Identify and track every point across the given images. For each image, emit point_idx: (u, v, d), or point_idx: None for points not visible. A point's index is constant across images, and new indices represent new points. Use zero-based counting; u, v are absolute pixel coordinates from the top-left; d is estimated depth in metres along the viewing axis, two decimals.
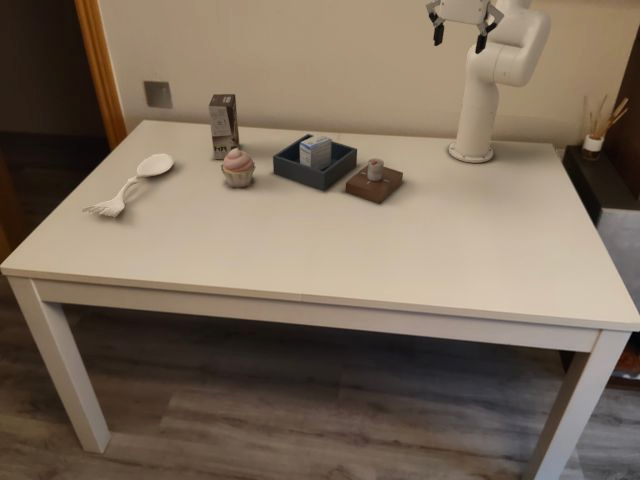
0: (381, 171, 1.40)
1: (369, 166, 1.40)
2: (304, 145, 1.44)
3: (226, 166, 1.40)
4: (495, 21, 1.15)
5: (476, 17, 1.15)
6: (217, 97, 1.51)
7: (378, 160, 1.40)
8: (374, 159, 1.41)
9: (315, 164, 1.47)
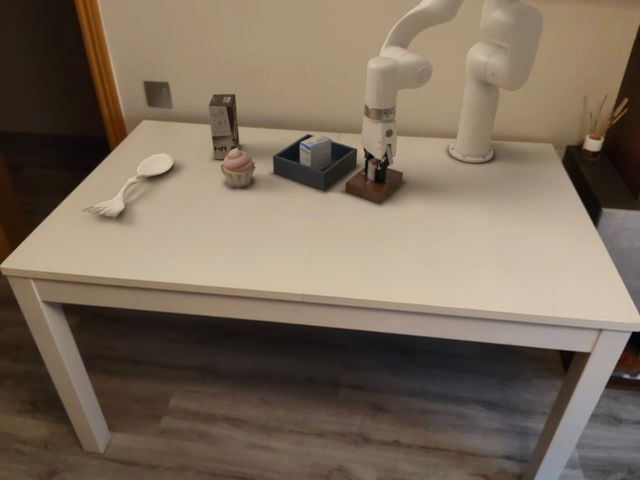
0: None
1: (369, 166, 1.40)
2: (304, 145, 1.44)
3: (226, 166, 1.40)
4: (385, 163, 1.34)
5: (377, 154, 1.34)
6: (217, 97, 1.51)
7: None
8: (374, 159, 1.41)
9: (315, 164, 1.47)
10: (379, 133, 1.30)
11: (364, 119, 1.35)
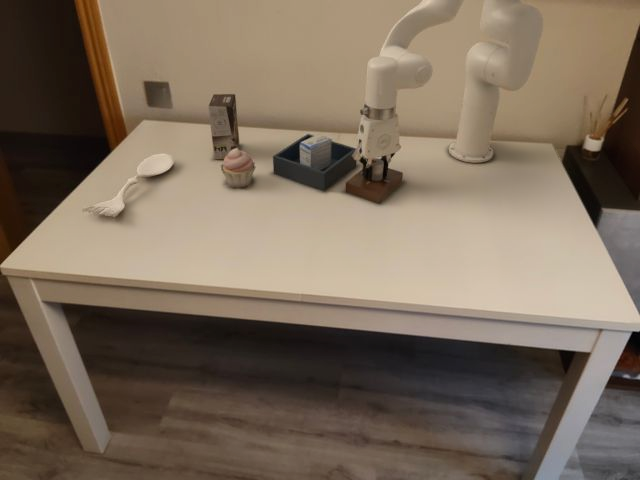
0: None
1: None
2: (304, 145, 1.44)
3: (226, 166, 1.40)
4: None
5: None
6: (217, 97, 1.51)
7: (379, 163, 1.39)
8: (381, 161, 1.40)
9: (315, 164, 1.47)
10: None
11: None
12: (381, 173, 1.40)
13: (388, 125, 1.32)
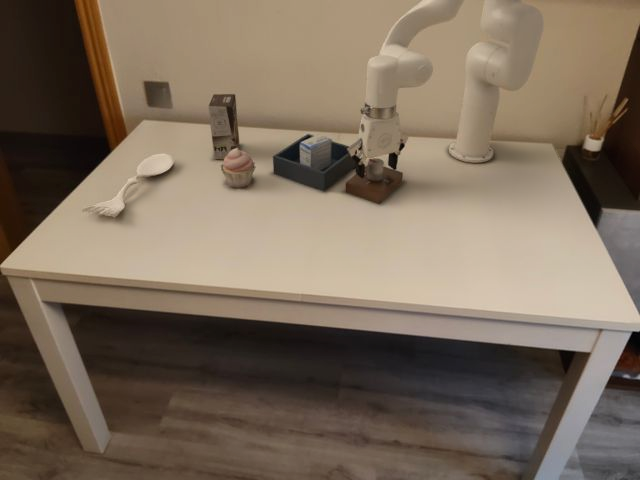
0: (370, 171, 1.40)
1: None
2: (304, 145, 1.44)
3: (226, 166, 1.40)
4: None
5: None
6: (217, 97, 1.51)
7: (379, 163, 1.39)
8: (381, 161, 1.40)
9: (315, 164, 1.47)
10: None
11: None
12: (381, 173, 1.40)
13: (388, 124, 1.32)
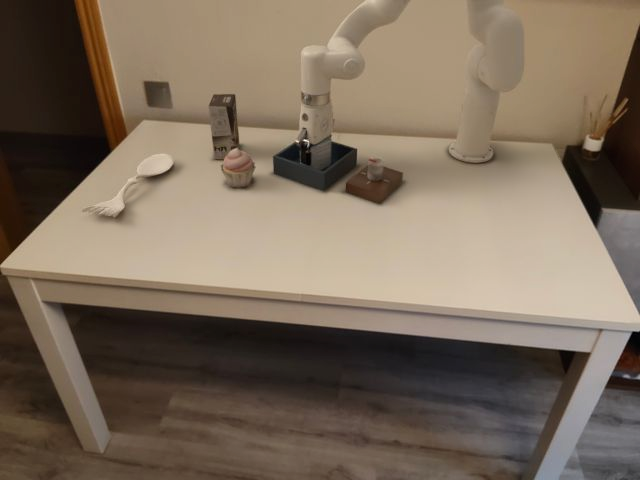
0: (370, 171, 1.40)
1: None
2: (304, 145, 1.44)
3: (226, 166, 1.40)
4: None
5: None
6: (217, 97, 1.51)
7: (379, 163, 1.39)
8: (381, 161, 1.40)
9: (315, 164, 1.47)
10: None
11: None
12: (381, 173, 1.40)
13: (326, 109, 1.40)
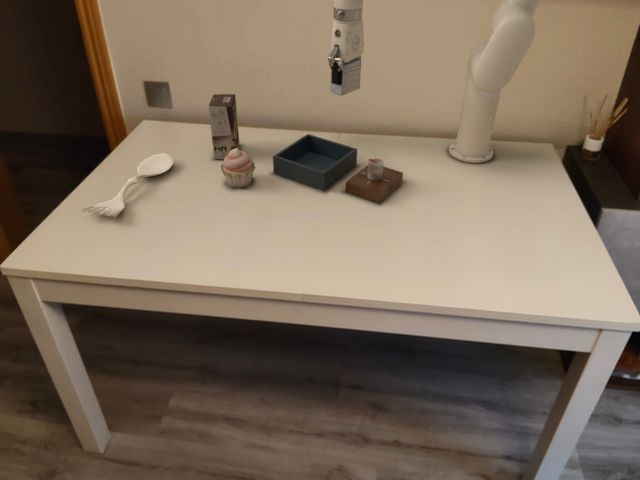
0: (370, 171, 1.40)
1: None
2: None
3: (226, 166, 1.40)
4: None
5: None
6: (217, 97, 1.51)
7: (379, 163, 1.39)
8: (381, 161, 1.40)
9: (346, 84, 1.50)
10: None
11: None
12: (381, 173, 1.40)
13: (358, 27, 1.43)
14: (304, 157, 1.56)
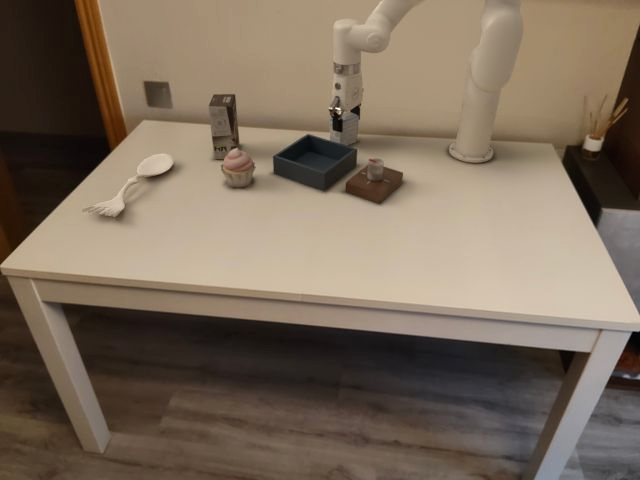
0: (370, 171, 1.40)
1: None
2: None
3: (226, 166, 1.40)
4: None
5: None
6: (217, 97, 1.51)
7: (379, 163, 1.39)
8: (381, 161, 1.40)
9: (344, 139, 1.61)
10: None
11: None
12: (381, 173, 1.40)
13: (357, 79, 1.52)
14: (304, 157, 1.56)
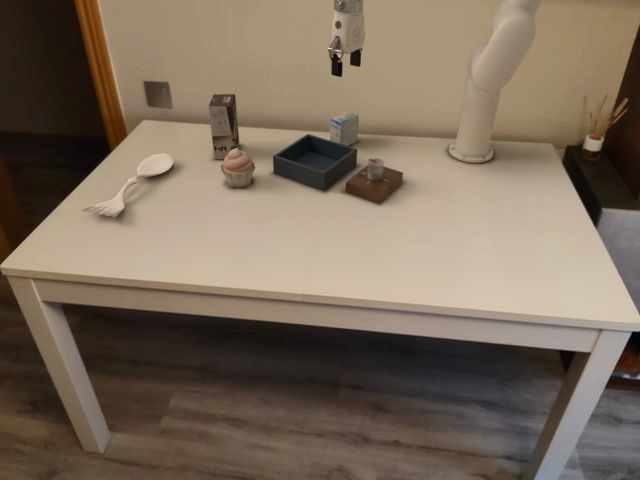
0: (370, 171, 1.40)
1: None
2: (334, 121, 1.58)
3: (226, 166, 1.40)
4: None
5: None
6: (217, 97, 1.51)
7: (379, 163, 1.39)
8: (381, 161, 1.40)
9: (344, 139, 1.61)
10: None
11: None
12: (381, 173, 1.40)
13: (358, 18, 1.42)
14: (304, 157, 1.56)
